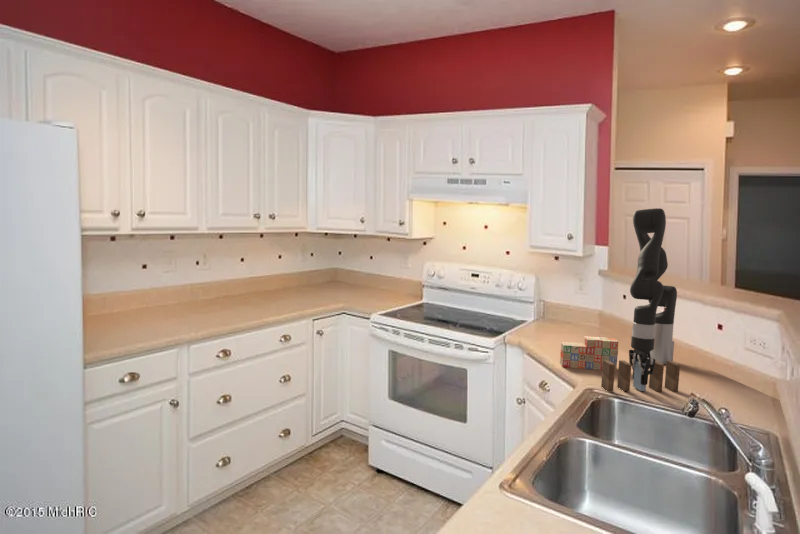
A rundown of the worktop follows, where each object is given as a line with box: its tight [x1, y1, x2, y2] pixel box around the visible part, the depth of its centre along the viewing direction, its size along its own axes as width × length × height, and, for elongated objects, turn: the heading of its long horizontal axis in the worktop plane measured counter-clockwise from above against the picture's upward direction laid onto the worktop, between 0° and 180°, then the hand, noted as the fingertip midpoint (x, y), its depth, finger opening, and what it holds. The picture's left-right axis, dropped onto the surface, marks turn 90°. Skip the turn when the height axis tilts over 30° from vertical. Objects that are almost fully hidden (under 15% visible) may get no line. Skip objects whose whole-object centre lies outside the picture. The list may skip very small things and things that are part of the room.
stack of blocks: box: [559, 335, 619, 372], centre depth 218 cm, size 21×6×12 cm, turn 81°
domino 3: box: [648, 361, 665, 393], centre depth 191 cm, size 2×5×10 cm, turn 5°
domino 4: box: [664, 360, 681, 393], centre depth 191 cm, size 2×5×10 cm, turn 5°
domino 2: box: [632, 361, 647, 392], centre depth 190 cm, size 2×5×10 cm, turn 5°
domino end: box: [600, 360, 616, 392], centre depth 189 cm, size 2×5×10 cm, turn 5°
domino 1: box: [616, 359, 632, 392], centre depth 190 cm, size 2×5×10 cm, turn 5°
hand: (639, 381), depth 190 cm, fingers closed on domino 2, 5 cm apart
